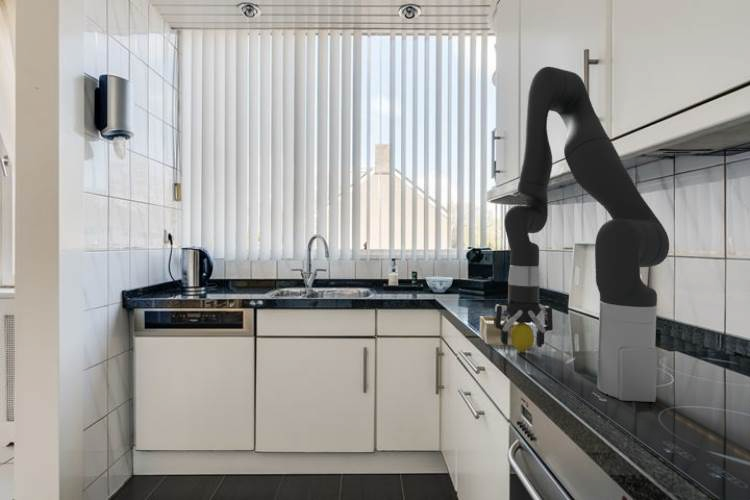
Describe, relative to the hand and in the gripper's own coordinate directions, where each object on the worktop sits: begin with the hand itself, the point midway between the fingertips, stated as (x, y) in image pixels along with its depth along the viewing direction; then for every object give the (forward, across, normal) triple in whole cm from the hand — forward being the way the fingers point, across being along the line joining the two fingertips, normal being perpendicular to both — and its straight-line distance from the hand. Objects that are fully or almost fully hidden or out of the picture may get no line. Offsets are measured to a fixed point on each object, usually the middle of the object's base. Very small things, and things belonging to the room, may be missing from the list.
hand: (522, 345), depth 104 cm
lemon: (+2, 0, 0) cm, 2 cm away
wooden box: (+2, -2, +13) cm, 13 cm away
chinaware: (+2, -12, +121) cm, 122 cm away
